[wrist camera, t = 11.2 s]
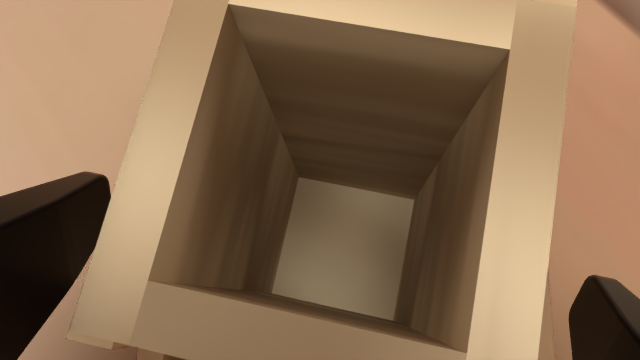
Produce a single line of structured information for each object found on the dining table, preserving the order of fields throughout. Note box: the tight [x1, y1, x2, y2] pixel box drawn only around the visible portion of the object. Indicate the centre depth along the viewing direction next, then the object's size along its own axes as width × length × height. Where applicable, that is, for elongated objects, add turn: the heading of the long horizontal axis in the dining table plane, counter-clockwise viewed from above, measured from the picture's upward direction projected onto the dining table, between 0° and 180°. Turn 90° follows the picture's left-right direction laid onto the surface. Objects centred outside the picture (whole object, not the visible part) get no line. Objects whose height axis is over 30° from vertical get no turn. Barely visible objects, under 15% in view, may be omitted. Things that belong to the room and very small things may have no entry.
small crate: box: [66, 0, 577, 360], centre depth 12 cm, size 6×6×11 cm
